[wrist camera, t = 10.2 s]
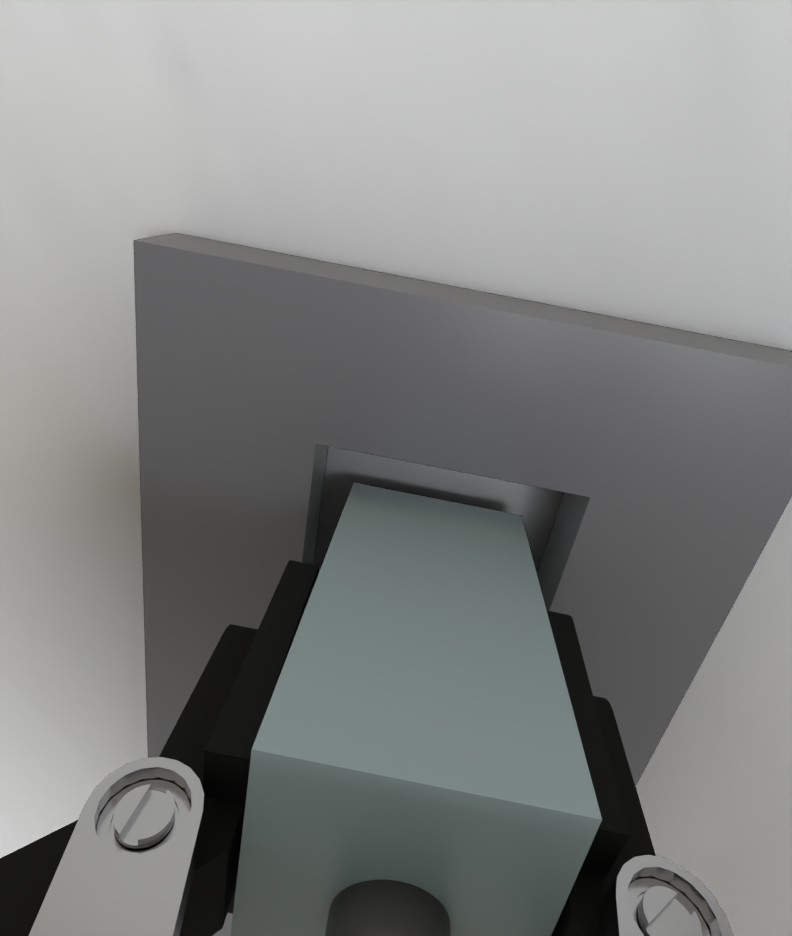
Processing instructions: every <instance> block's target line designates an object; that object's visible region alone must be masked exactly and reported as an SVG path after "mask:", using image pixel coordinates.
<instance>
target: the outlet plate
mask: <svg viewBox="0 0 792 936" xmlns="http://www.w3.org/2000/svg"><path fill="white" fill-rule="evenodd" d="M134 275H135V311H136V346H137V382H138V418H139V453H140V489H141V525H142V560H143V596H144V631H145V667H146V703H147V738H148V758H155V757H159V756H160V754H161V752H162V750H163V748H164V746H165V744H166V742H167V740H168V738H169V736H170V734H171V732H172V731H173V729H174V727H175V725H176V723H177V721H178V719H179V717H180V715H181V713H182V711H183V709H184V707H185V706H186V704H187V702H188V700H189V698H190V696H191V694H192V692H193V690H194V688H195V686H196V684H197V682H198V680H199V679H200V677H201V675H202V673H203V671H204V669H205V667H206V665H207V663H208V661H209V659H210V657H211V655H212V654H213V652H214V650H215V648H216V646H217V644H218V642H219V640H220V638H221V636H222V634H223V633H224V631H225V629H226V628H227V626H229V625H230V624H233V625H238V626H243V627H248V628H253V629H258V628H259V626H260V624H261V622H262V619H263V617H264V615H265V613H266V610H267V608H268V606H269V604H270V601H271V599H272V597H273V595H274V592H275V590H276V588H277V586H278V583H279V581H280V579H281V577H282V574H283V572H284V570H285V568H286V565H287V563H288V562H289V561H290V560H293V561H298V562H303V563H308V564H313V560H314V553H315V545H316V537H317V529H318V522H319V514H320V506H321V499H322V491H323V483H324V475H325V468H326V460H327V452H328V446H331V447H336V448H341V449H346V450H351V451H357V452H362V453H367V454H372V455H377V456H382V457H387V458H392V459H397V460H402V461H407V462H413V463H418V464H423V465H428V466H433V467H438V468H443V469H448V470H453V471H458V472H463V473H469V474H474V475H479V476H484V477H489V478H494V479H499V480H504V481H509V482H514V483H520V484H525V485H530V486H535V487H540V488H545V489H550V490H555V491H560V492H565V493H564V496H563V499H562V502H561V505H560V508H559V511H558V514H557V517H556V520H555V523H554V525H553V528H552V531H551V534H550V537H549V540H548V543H547V546H546V549H545V552H544V555H543V558H542V561H541V564H540V567H539V570H538V572H537V577H538V580H539V584H540V588H541V592H542V595H543V599H544V603H545V607H546V610H547V611H552V612H557V613H562V614H568V615H570V616H572V619H573V621H574V625H575V629H576V633H577V636H578V640H579V644H580V648H581V652H582V656H583V659H584V663H585V667H586V671H587V675H588V678H589V682H590V686H591V690H592V694H593V696H597V697H602V698H606V699H607V700H608V701H609V702H610V705H611V707H612V709H613V712H614V716H615V719H616V722H617V726H618V729H619V733H620V736H621V739H622V743H623V746H624V750H625V753H626V757H627V760H628V763H629V767H630V770H631V774H632V777H633V780H634V784H635V786H636V784H637V782H638V781H639V779H640V777H641V775H642V773H643V771H644V769H645V768H646V766H647V764H648V762H649V760H650V758H651V756H652V755H653V753H654V751H655V749H656V747H657V745H658V744H659V742H660V740H661V738H662V736H663V734H664V732H665V731H666V729H667V727H668V725H669V723H670V721H671V719H672V718H673V716H674V714H675V712H676V710H677V708H678V706H679V705H680V703H681V701H682V699H683V697H684V695H685V693H686V692H687V690H688V688H689V686H690V684H691V682H692V680H693V679H694V677H695V675H696V673H697V671H698V669H699V667H700V666H701V664H702V662H703V660H704V658H705V656H706V654H707V653H708V651H709V649H710V647H711V645H712V643H713V642H714V640H715V638H716V636H717V634H718V632H719V630H720V629H721V627H722V625H723V623H724V621H725V619H726V617H727V616H728V614H729V612H730V610H731V608H732V606H733V604H734V603H735V601H736V599H737V597H738V595H739V593H740V591H741V590H742V588H743V586H744V584H745V582H746V580H747V578H748V577H749V575H750V573H751V571H752V569H753V567H754V565H755V564H756V562H757V560H758V558H759V556H760V554H761V552H762V551H763V549H764V547H765V545H766V543H767V541H768V540H769V538H770V536H771V534H772V532H773V530H774V528H775V527H776V525H777V523H778V521H779V519H780V517H781V515H782V514H783V512H784V510H785V508H786V506H787V504H788V502H789V501H790V499H791V497H792V351H787V350H782V349H777V348H771V347H766V346H761V345H756V344H751V343H745V342H740V341H735V340H730V339H725V338H719V337H714V336H709V335H704V334H699V333H693V332H688V331H683V330H678V329H673V328H667V327H662V326H657V325H652V324H647V323H641V322H636V321H631V320H626V319H621V318H615V317H610V316H605V315H600V314H594V313H589V312H584V311H579V310H574V309H568V308H563V307H558V306H553V305H548V304H542V303H537V302H532V301H527V300H522V299H516V298H511V297H506V296H501V295H496V294H490V293H485V292H480V291H475V290H470V289H464V288H459V287H454V286H449V285H444V284H438V283H433V282H428V281H423V280H417V279H412V278H407V277H402V276H397V275H391V274H386V273H381V272H376V271H371V270H365V269H360V268H355V267H350V266H345V265H339V264H334V263H329V262H324V261H319V260H313V259H308V258H303V257H298V256H293V255H287V254H282V253H277V252H272V251H267V250H261V249H256V248H251V247H246V246H240V245H235V244H230V243H225V242H220V241H214V240H209V239H204V238H199V237H194V236H188V235H183V234H178V233H173V234H167V235H161V236H155V237H150V238H144V239H138V240H134ZM232 918H233V914H232V913H227V916H226V919H225V922H224V925H223V928H222V929H221V930H219V931H218V932H217V933H215V934H214V935H212V936H230V935H231V927H232Z"/></svg>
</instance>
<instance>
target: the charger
mask: <svg viewBox="0 0 792 936" xmlns="http://www.w3.org/2000/svg"><path fill="white" fill-rule="evenodd" d="M601 821H602V817H601V813H600V810H599V806H598V802H597V798H596V795H595V791H594V787H593V783H592V780H591V776H590V772H589V768H588V765H587V761H586V757H585V753H584V750H583V746H582V742H581V738H580V735H579V731H578V727H577V723H576V719H575V716H574V712H573V708H572V704H571V701H570V697H569V693H568V689H567V686H566V682H565V678H564V674H563V671H562V667H561V663H560V659H559V656H558V652H557V648H556V644H555V641H554V637H553V633H552V629H551V625H550V622H549V618H548V614H547V610H546V607H545V603H544V599H543V595H542V592H541V588H540V584H539V580H538V577H537V573H536V569H535V565H534V562H533V558H532V554H531V550H530V546H529V543H528V539H527V535H526V531H525V528H524V524H523V520H522V516H521V515H517V514H512V513H507V512H502V511H496V510H491V509H486V508H481V507H476V506H471V505H466V504H461V503H456V502H451V501H445V500H440V499H435V498H430V497H425V496H420V495H415V494H410V493H405V492H400V491H394V490H389V489H384V488H379V487H374V486H369V485H364V484H359V483H353V485H352V488H351V491H350V493H349V496H348V498H347V501H346V504H345V506H344V509H343V512H342V514H341V517H340V519H339V522H338V525H337V527H336V530H335V533H334V535H333V538H332V540H331V543H330V546H329V548H328V551H327V553H326V556H325V559H324V561H323V564H322V567H321V569H320V572H319V574H318V577H317V580H316V582H315V585H314V587H313V590H312V593H311V595H310V598H309V601H308V603H307V606H306V608H305V611H304V614H303V616H302V619H301V621H300V624H299V627H298V629H297V632H296V635H295V637H294V640H293V642H292V645H291V648H290V650H289V653H288V656H287V658H286V661H285V663H284V666H283V669H282V671H281V674H280V676H279V679H278V682H277V684H276V687H275V690H274V692H273V695H272V697H271V700H270V703H269V705H268V708H267V710H266V713H265V716H264V718H263V721H262V724H261V726H260V729H259V731H258V734H257V737H256V739H255V742H254V745H253V747H252V751H251V760H250V769H249V777H248V786H247V795H246V804H245V812H244V821H243V830H242V839H241V848H240V856H239V865H238V874H237V883H236V892H235V900H234V909H233V918H232V927H231V935H230V936H551V935H552V932H553V930H554V928H555V926H556V923H557V921H558V919H559V917H560V914H561V912H562V910H563V907H564V905H565V903H566V901H567V898H568V896H569V894H570V892H571V889H572V887H573V885H574V882H575V880H576V878H577V876H578V873H579V871H580V869H581V867H582V864H583V862H584V860H585V858H586V855H587V853H588V851H589V848H590V846H591V844H592V842H593V839H594V837H595V835H596V833H597V830H598V828H599V826H600V823H601Z"/></svg>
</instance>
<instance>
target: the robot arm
mask: <svg viewBox="0 0 792 936" xmlns="http://www.w3.org/2000/svg"><path fill="white" fill-rule="evenodd" d="M318 574H319V566H318V565H313V564H308V563H303V562H298V561H293V560H290V561H289V562H288V563H287V565H286V568H285V570H284V572H283V574H282V577H281V579H280V581H279V583H278V586H277V588H276V590H275V592H274V595H273V597H272V599H271V601H270V604H269V606H268V608H267V610H266V613H265V615H264V617H263V619H262V622H261V624H260V626H259V628H258V629H253V628H248V627H243V626H238V625H233V624H230V625H229V626H227V628H226V629H225V631H224V633H223V634H222V636H221V638H220V640H219V642H218V644H217V646H216V648H215V650H214V652H213V654H212V655H211V657H210V659H209V661H208V663H207V665H206V667H205V669H204V671H203V673H202V675H201V677H200V679H199V680H198V682H197V684H196V686H195V688H194V690H193V692H192V694H191V696H190V698H189V700H188V702H187V704H186V706H185V707H184V709H183V711H182V713H181V715H180V717H179V719H178V721H177V723H176V725H175V727H174V729H173V731H172V732H171V734H170V736H169V738H168V740H167V742H166V744H165V746H164V748H163V750H162V752H161V754H160V756H159V757H155V758H143V759H140V760H137V761H134V762H131V763H128V764H125V765H124V766H122V767H120V768H119V769H117V770H115V771H114V772H112V773H110V774H109V775H108V776H107V777H106V778H105V779H104V780H103V781H102V782H101V783H100V784H99V785H98V786H97V787H95V789H94V790H93V792H92V794H91V795H90V797H89V798H88V800H87V802H86V803H85V805H84V808H83V810H82V812H81V815H80V817H79V819H78V820H77V821H75V822H73V823H71V824H69V825H67V826H65V827H63V828H61V829H59V830H57V831H55V832H53V833H51V834H49V835H47V836H45V837H43V838H41V839H39V840H37V841H35V842H33V843H31V844H29V845H27V846H25V847H23V848H21V849H19V850H17V851H15V852H13V853H10V854H8V855H6V856H4V857H2V858H0V936H212V935H214V934H215V933H217V932H218V931H219V930H221V929H222V928H223V925H224V922H225V919H226V916H227V913H232V914H233V909H234V900H235V892H236V883H237V874H238V865H239V856H240V848H241V839H242V830H243V821H244V812H245V804H246V795H247V786H248V777H249V769H250V760H251V751H252V747H253V745H254V742H255V739H256V737H257V734H258V731H259V729H260V726H261V724H262V721H263V718H264V716H265V713H266V710H267V708H268V705H269V703H270V700H271V697H272V695H273V692H274V690H275V687H276V684H277V682H278V679H279V676H280V674H281V671H282V669H283V666H284V663H285V661H286V658H287V656H288V653H289V650H290V648H291V645H292V642H293V640H294V637H295V635H296V632H297V629H298V627H299V624H300V621H301V619H302V616H303V614H304V611H305V608H306V606H307V603H308V601H309V598H310V595H311V593H312V590H313V587H314V585H315V582H316V580H317V577H318ZM547 614H548V618H549V622H550V625H551V629H552V633H553V637H554V641H555V644H556V648H557V652H558V656H559V659H560V663H561V667H562V671H563V674H564V678H565V682H566V686H567V689H568V693H569V697H570V701H571V704H572V708H573V712H574V716H575V719H576V723H577V727H578V731H579V735H580V738H581V742H582V746H583V750H584V753H585V757H586V761H587V765H588V768H589V772H590V776H591V780H592V783H593V787H594V791H595V795H596V798H597V802H598V806H599V810H600V813H601V817H602V821H601V823H600V826H599V828H598V830H597V833H596V835H595V837H594V839H593V842H592V844H591V846H590V848H589V851H588V853H587V855H586V858H585V860H584V862H583V864H582V867H581V869H580V871H579V873H578V876H577V878H576V880H575V882H574V885H573V887H572V889H571V892H570V894H569V896H568V898H567V901H566V903H565V905H564V907H563V910H562V912H561V914H560V917H559V919H558V921H557V923H556V926H555V928H554V930H553V932H552V935H551V936H734V935H733V932H732V930H731V927H730V924H729V922H728V919H727V916H726V914H725V913H724V911H723V909H722V908H721V906H720V905H719V903H718V901H717V900H716V898H715V897H714V895H713V894H712V893H711V892H710V891H709V890H708V889H707V888H706V887H705V885H704V884H703V883H702V882H701V881H700V880H699V879H698V878H697V877H695V876H694V875H693V874H691V873H690V872H689V871H688V870H686V869H685V868H684V867H682V866H680V865H678V864H676V863H674V862H672V861H670V860H668V859H666V858H663V857H658V856H656V855H655V852H654V849H653V845H652V842H651V838H650V835H649V832H648V828H647V825H646V821H645V818H644V815H643V811H642V808H641V804H640V801H639V797H638V794H637V791H636V787H635V784H634V780H633V777H632V774H631V770H630V767H629V763H628V760H627V757H626V753H625V750H624V746H623V743H622V739H621V736H620V733H619V729H618V726H617V722H616V719H615V716H614V712H613V709H612V707H611V705H610V702H609V701H608V700H607V699H606V698H602V697H597V696H593V694H592V690H591V686H590V682H589V678H588V675H587V671H586V667H585V663H584V659H583V656H582V652H581V648H580V644H579V640H578V636H577V633H576V629H575V625H574V621H573V619H572V616H570V615H568V614H562V613H557V612H552V611H547Z"/></svg>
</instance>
